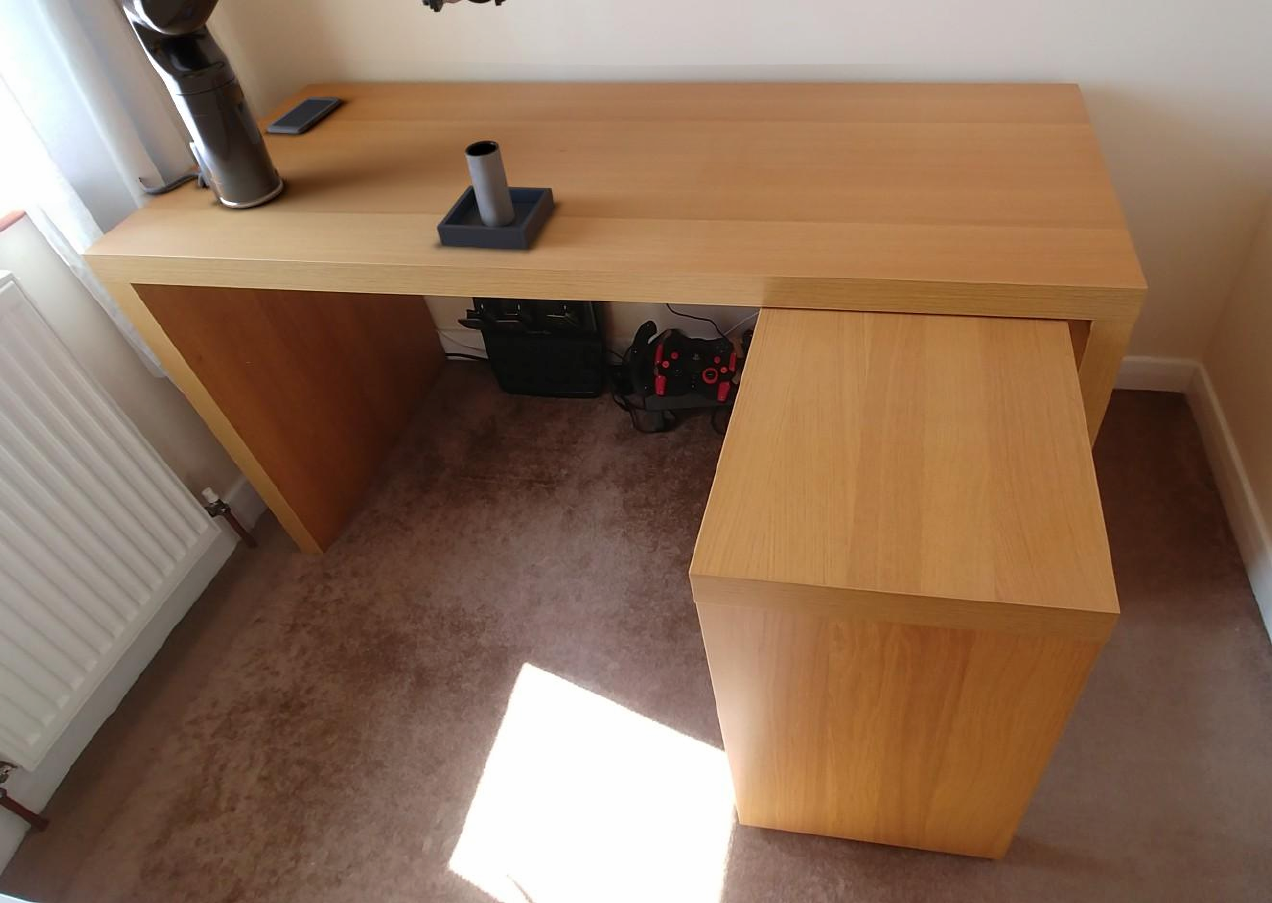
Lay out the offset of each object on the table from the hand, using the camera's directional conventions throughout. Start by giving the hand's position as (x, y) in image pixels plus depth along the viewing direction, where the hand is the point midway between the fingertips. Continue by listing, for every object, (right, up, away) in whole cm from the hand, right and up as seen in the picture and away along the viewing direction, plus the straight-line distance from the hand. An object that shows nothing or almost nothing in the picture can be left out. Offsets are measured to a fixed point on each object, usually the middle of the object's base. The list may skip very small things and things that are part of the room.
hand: (465, 1), depth 112 cm
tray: (+4, -30, +3) cm, 30 cm away
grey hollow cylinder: (+4, -29, +3) cm, 29 cm away
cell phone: (-37, 0, +38) cm, 53 cm away
